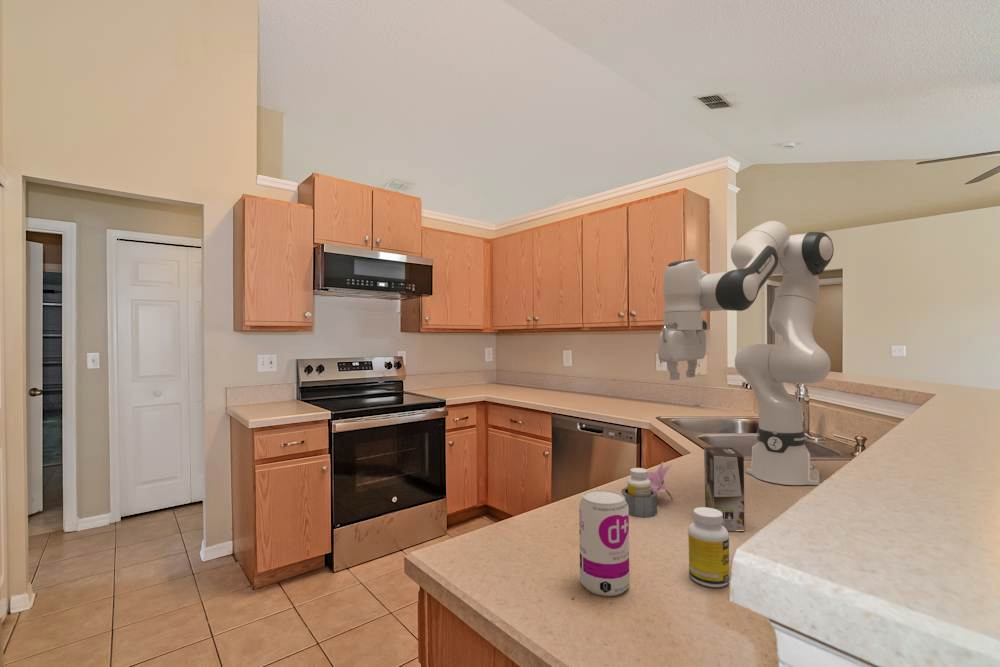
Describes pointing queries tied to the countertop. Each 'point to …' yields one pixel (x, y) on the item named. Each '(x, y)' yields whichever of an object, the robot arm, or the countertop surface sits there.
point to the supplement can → (604, 542)
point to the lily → (659, 478)
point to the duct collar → (641, 504)
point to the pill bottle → (708, 548)
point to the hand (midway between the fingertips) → (683, 378)
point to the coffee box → (725, 485)
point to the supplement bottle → (639, 483)
